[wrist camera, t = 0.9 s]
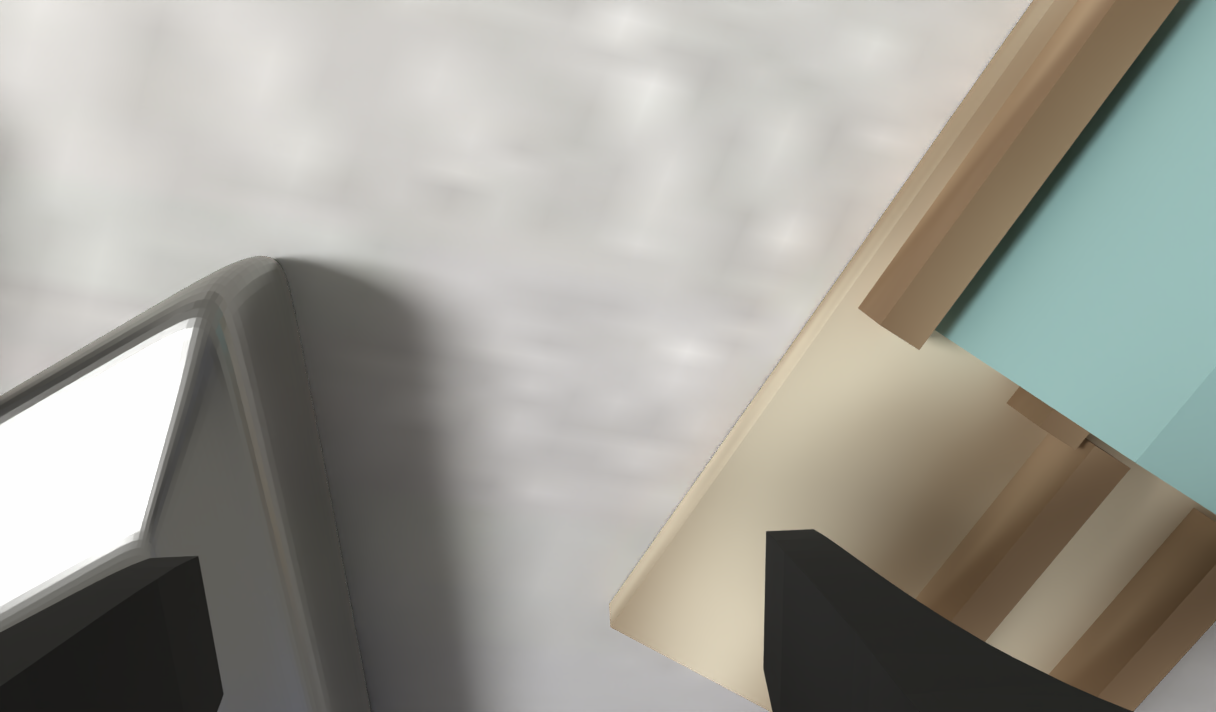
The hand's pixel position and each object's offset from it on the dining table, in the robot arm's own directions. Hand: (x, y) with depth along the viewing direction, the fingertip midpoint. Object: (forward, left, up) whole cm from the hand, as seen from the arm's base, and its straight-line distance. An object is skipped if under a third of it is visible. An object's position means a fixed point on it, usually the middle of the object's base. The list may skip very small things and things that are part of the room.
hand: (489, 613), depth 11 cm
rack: (-11, -5, -10) cm, 15 cm away
